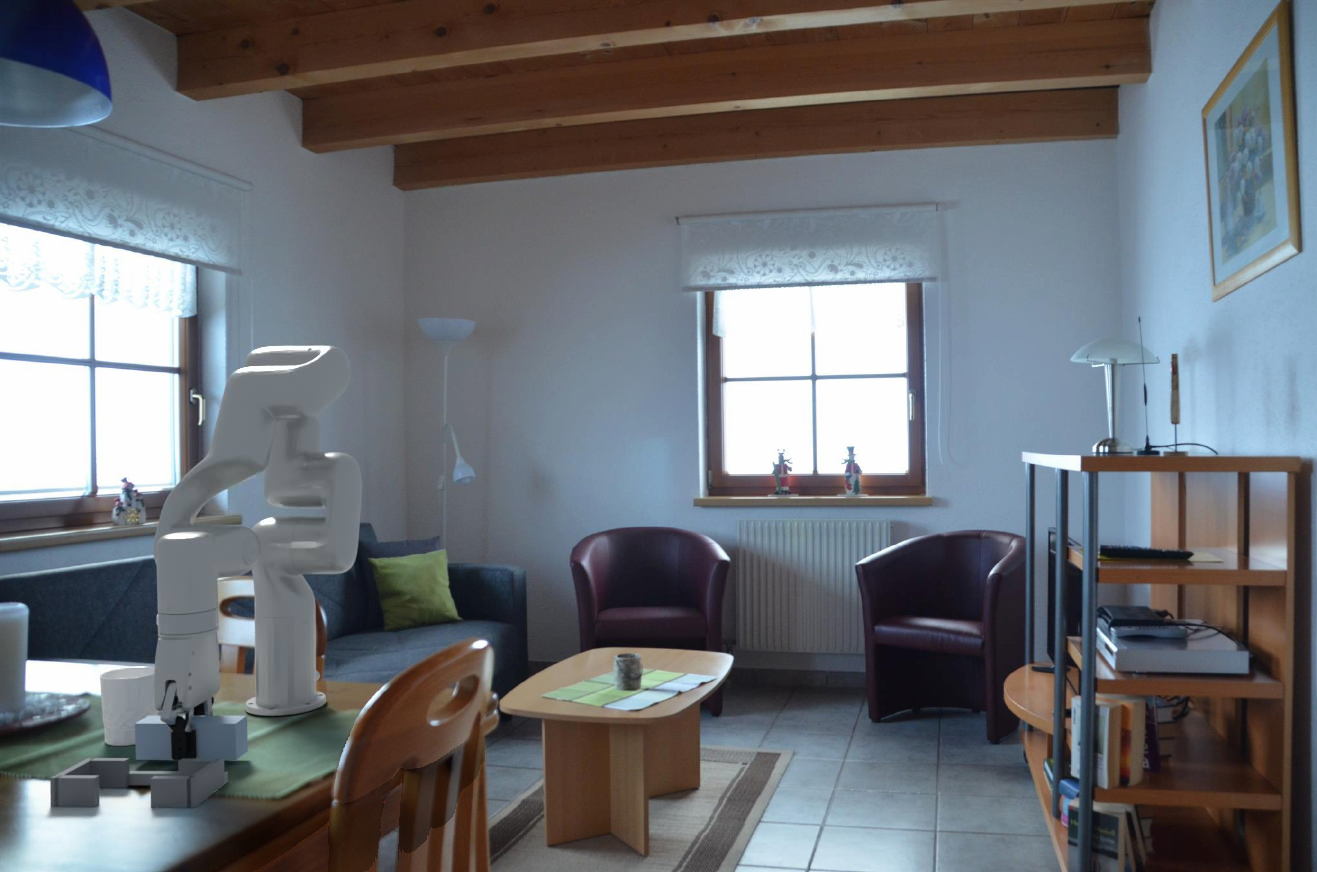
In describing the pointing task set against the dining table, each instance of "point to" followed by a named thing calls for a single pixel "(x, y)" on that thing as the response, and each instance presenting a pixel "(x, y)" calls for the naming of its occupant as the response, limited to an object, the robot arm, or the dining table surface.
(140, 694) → the white cup
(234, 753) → the blue rectangular block
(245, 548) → the robot arm
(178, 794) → the grey rectangular holder
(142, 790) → the dining table surface
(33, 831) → the dining table surface
